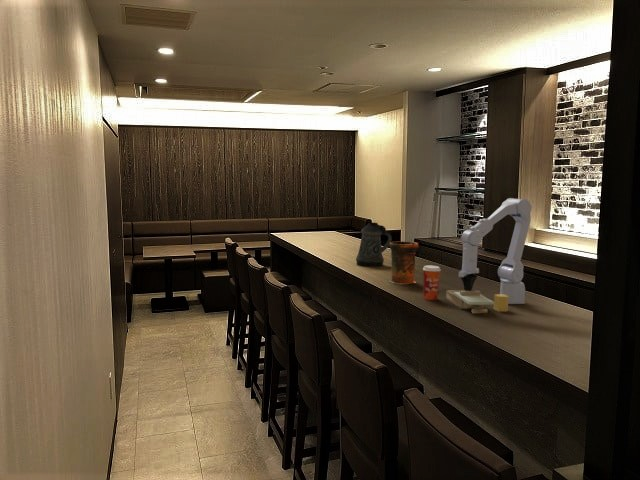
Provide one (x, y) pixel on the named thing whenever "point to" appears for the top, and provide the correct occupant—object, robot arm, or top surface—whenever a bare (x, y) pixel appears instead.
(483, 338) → the top surface
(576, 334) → the top surface
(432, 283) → the paper cup
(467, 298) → the lid
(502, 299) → the yellow block
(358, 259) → the beer stein
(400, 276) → the vessel
